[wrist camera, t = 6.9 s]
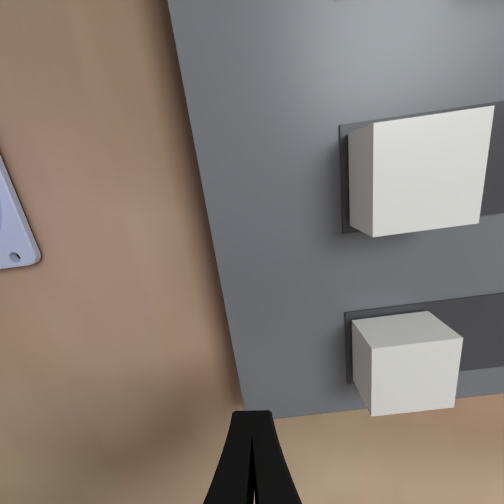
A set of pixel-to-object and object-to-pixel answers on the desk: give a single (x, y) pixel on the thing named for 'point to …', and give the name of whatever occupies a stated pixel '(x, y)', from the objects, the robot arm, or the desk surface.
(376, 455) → the desk surface
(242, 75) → the switch board
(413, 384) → the white cube
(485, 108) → the switch tab
